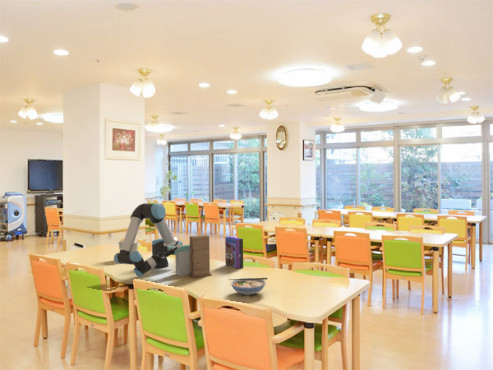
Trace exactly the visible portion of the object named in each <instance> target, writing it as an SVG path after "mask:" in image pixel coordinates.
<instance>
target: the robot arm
mask: <svg viewBox="0 0 493 370" xmlns="http://www.w3.org/2000/svg"><path fill="white" fill-rule="evenodd" d="M165 217H166V208H165V206H164V205H163V204H161V203H156V202H155V203H145V202H144V203H141V204H138V206H136V207H135V208H134V209H133V211H132V213H131V214H130V217H129V219H130V221H129V223H128V224H129V225H128V226H127V230H126V233H125V235H124V239H123V240H124V241H123V244H122V247H121V249H119V252H117V253H115V254H114V256H113V260H114V261H113V262H114V263H116V264H120V265H122V264H123V265H132V266H134V268H133V272H134V273H135V275H136V276H137V278H140V277H142V276H144V275H145V274H147V272H149V271H150V270H152V269H164V268H168V267H169V261H168V257H170V256H175V251H176V250H177V249H178V248H180V247H181V245H184V244H183V242H182V241H181V240H178V238H177V237H176V236H174V235H173V233H172V231H171V228H170V227H169V225H168V223H167V221H166V219H165ZM145 219H146V220H147V219H149V221H150V223H151V224H154V226H155V227H156V229H157V231H158V234H159V235H160V237H161V238H156V239H153V240H152V242H151V256H150V257H148V258H146V259H145V260H144V258H143V256H142V254H141V252H139V250H137V251H135V252H132V253H131V254H130V252H131V249H132V246H133V243H134V241H135V240H136V237H137V235H138V231H139V229H140V225H141V224H142V223H143V221H144V220H145ZM170 246H175V247H173V248H172V249H171V250H169V251H167V247H170Z"/></svg>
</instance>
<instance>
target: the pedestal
mask: <svg viewBox="0 0 493 370" xmlns="http://www.w3.org/2000/svg"><path fill="white" fill-rule="evenodd" d="M189 245H190V274H188V275H187V276H188V277H190V278H192V279H198V278H203V277H204V278H205V277H211V276H212V273H211V269H210V267H211V266H210V264H211V263H210V235H208V234H202V235H201V234H200V235H199V234H198V235H193V236H192V235H190V236H189Z"/></svg>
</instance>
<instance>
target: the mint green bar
mask: <svg viewBox="0 0 493 370" xmlns="http://www.w3.org/2000/svg"><path fill="white" fill-rule="evenodd" d="M173 247H175V246H170V247H167V251H169V250H171V249H172V248H173ZM182 251H190V244H183V245H181V247H180V248H178V249H177V250H176V251H175V252H182Z"/></svg>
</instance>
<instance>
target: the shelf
mask: <svg viewBox="0 0 493 370" xmlns="http://www.w3.org/2000/svg"><path fill="white" fill-rule="evenodd" d="M174 256H175V275H177V276H178V277H184V276H189V275H188V274H190V251H182V252H175V255H174Z"/></svg>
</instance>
